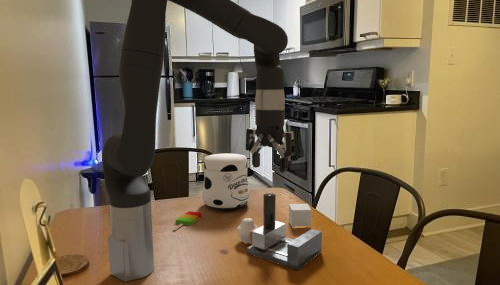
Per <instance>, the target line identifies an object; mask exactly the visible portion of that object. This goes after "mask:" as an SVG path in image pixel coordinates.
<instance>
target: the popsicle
mask: <svg viewBox="0 0 500 285" xmlns="http://www.w3.org/2000/svg"><path fill="white" fill-rule="evenodd" d="M202 217H203V214H202V212H199V211H193V210H192V211H186V212H185V213H184V214H182V215H181V216H180V217H178V218H176V219H175V224H176V225H177V226H175V227H174V228H173V229H172V231H173V232H174V231H177V230H179V229H180V228H181V227H182V226H189V227H191V226H192V225H193V224H194V223H196V222H197V221H199V220H200V219H201V218H202ZM198 219H199V220H198Z"/></svg>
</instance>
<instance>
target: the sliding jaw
mask: <svg viewBox="0 0 500 285" xmlns="http://www.w3.org/2000/svg"><path fill="white" fill-rule="evenodd" d="M276 197H277V196H276V194H275V193H270V192H268V193H264V194H263V198H262V199H263V203H262V204H263V208H262V209H263V213H262V214H263V224H262V225H260V226H257V227H258V228H256V229H254V230H252V231H250V243H249V244H250V246H251V245H252V246H255V247H258V248H261V249H264V250H265V249H266V248H268V247H270V246H272V245H273V244H275V243H277V242H278V241H280V240H282V239H283V238H285V237H286V235H287V234H286V233H287V229H286V228H287V225H286V223H284V222H281V221H278V220H276V202H277V201H276V200H277V199H276Z"/></svg>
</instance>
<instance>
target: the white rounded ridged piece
mask: <svg viewBox="0 0 500 285" xmlns="http://www.w3.org/2000/svg"><path fill="white" fill-rule="evenodd" d="M258 227H259V226H258V225H257V224H256V223H255V221H254V219H253V218H251V217H245V218H243V219H242V220H241V223H240V224H239V225H238V226H237V228H236V231H237V232H236V233H237V234H238V236H239V238H240V240H241V241H242V243H243V242H244V244H246V243H249V244H250V231H252V230H254V229H256V228H258Z"/></svg>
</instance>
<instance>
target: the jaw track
mask: <svg viewBox="0 0 500 285" xmlns="http://www.w3.org/2000/svg"><path fill="white" fill-rule="evenodd" d="M322 241H323V231H322V230H318V229H315V228H310V229H309V230H307V231H306V232H304V233H303V234H301V235H299V236H298V237H296V238H294V239H293V238H290V237H285V238H283V239H282V240H280V241H278V242H277V243H275V244H273V245H272V246H270V247H268V248H266V249H265V250H264V249H261V248H258V247H255V246H252V245H251V244H250V246H248V247H246V253H247V254H248V253H249V255H251V254H252V255H251V256H254V255H255V257H257V256H258V257H257V258H260V257H261V258H260V259H263V258H264V259H263V260H265V259H267V260H266V261H268V260H270V261H269V262H271V261H273V262H272V263H274V262H275V264H277V263H279V264H278V265H280V264H281V265H280V266H283V265H284V266H283V267H286V266H287V267H286V268H288V267H290V268H289V269H291V268H292V269H291V270H294V269H295V271H299V270H301V269H302V268H304V267H305V266H306V265H307V264H309V263H310V262H311V261H312V260H311V259H313V258H314V257H315V256H316V255H318V254H319V253H320V252H321V253H322V247H323V246H322ZM319 255H320V254H319ZM319 255H318V256H319ZM315 258H316V257H315ZM315 258H314V259H315ZM314 259H313V260H314ZM310 260H311V261H310ZM309 261H310V262H309ZM308 262H309V263H308ZM306 263H307V264H306ZM305 264H306V265H305ZM304 265H305V266H304ZM300 268H301V269H300Z"/></svg>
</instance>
